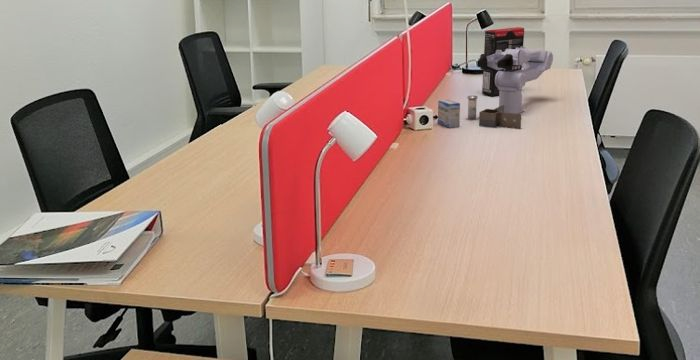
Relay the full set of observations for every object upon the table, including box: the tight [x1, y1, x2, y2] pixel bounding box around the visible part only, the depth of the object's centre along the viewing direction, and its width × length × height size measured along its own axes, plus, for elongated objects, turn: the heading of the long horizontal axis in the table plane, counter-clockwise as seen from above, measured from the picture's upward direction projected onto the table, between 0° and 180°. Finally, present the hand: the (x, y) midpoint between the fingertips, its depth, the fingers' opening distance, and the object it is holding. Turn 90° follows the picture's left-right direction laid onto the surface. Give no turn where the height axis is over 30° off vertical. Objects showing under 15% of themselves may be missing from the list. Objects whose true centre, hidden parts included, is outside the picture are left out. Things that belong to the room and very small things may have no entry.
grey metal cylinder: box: [466, 95, 478, 121], centre depth 280 cm, size 4×4×8 cm
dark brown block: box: [478, 105, 504, 129], centre depth 273 cm, size 14×6×5 cm, turn 146°
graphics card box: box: [481, 26, 525, 97], centre depth 321 cm, size 17×7×27 cm, turn 124°
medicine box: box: [437, 99, 461, 129], centre depth 271 cm, size 8×4×9 cm, turn 25°
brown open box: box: [478, 108, 522, 130], centre depth 268 cm, size 6×14×5 cm, turn 56°
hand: (488, 64), depth 267 cm, fingers open, 7 cm apart
